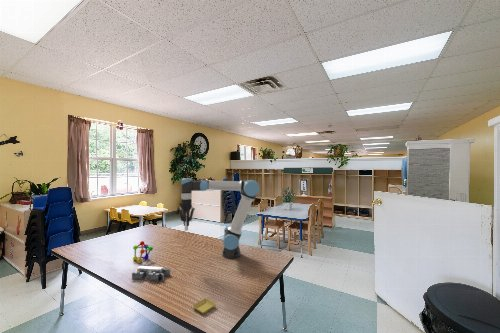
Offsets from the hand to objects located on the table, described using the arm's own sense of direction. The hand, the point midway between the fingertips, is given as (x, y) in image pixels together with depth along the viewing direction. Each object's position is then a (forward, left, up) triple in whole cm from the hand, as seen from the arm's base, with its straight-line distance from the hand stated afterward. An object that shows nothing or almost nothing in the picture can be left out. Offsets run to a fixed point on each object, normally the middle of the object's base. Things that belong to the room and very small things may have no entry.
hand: (186, 230), depth 165 cm
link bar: (+14, +24, -25) cm, 37 cm away
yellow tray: (-33, +50, -25) cm, 65 cm away
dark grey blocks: (+13, +24, -24) cm, 36 cm away
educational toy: (+36, 0, -25) cm, 44 cm away
